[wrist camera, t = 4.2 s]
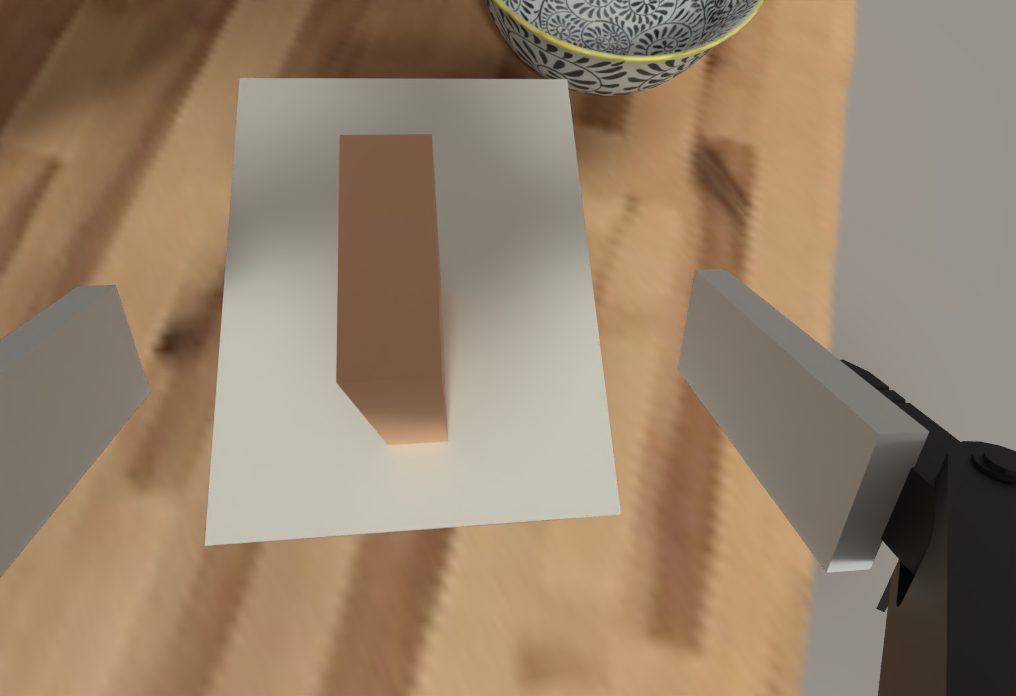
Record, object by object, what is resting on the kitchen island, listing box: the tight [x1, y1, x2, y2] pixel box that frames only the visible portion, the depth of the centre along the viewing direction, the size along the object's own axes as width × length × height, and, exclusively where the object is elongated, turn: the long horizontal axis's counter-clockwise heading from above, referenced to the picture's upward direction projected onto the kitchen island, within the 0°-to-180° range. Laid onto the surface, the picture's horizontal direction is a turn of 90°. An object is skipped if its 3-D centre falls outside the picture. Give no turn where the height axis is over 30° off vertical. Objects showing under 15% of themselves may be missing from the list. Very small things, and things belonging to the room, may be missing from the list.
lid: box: [205, 78, 621, 546], centre depth 16 cm, size 16×12×9 cm
